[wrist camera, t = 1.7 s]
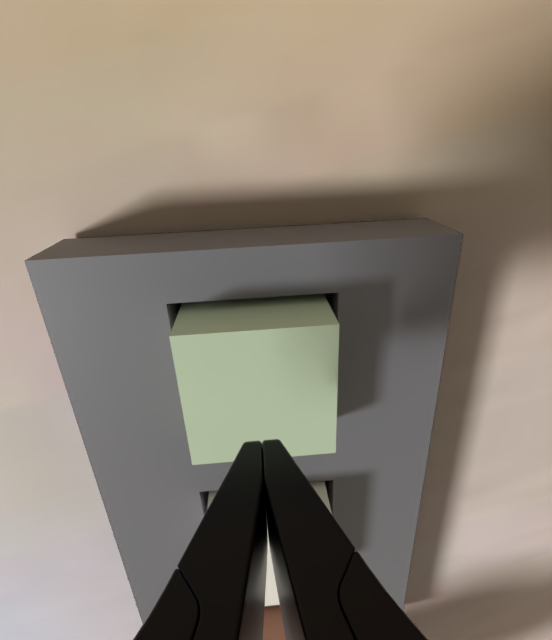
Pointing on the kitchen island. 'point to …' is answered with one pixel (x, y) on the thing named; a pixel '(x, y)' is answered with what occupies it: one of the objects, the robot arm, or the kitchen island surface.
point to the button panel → (242, 283)
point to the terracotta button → (273, 624)
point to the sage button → (257, 374)
